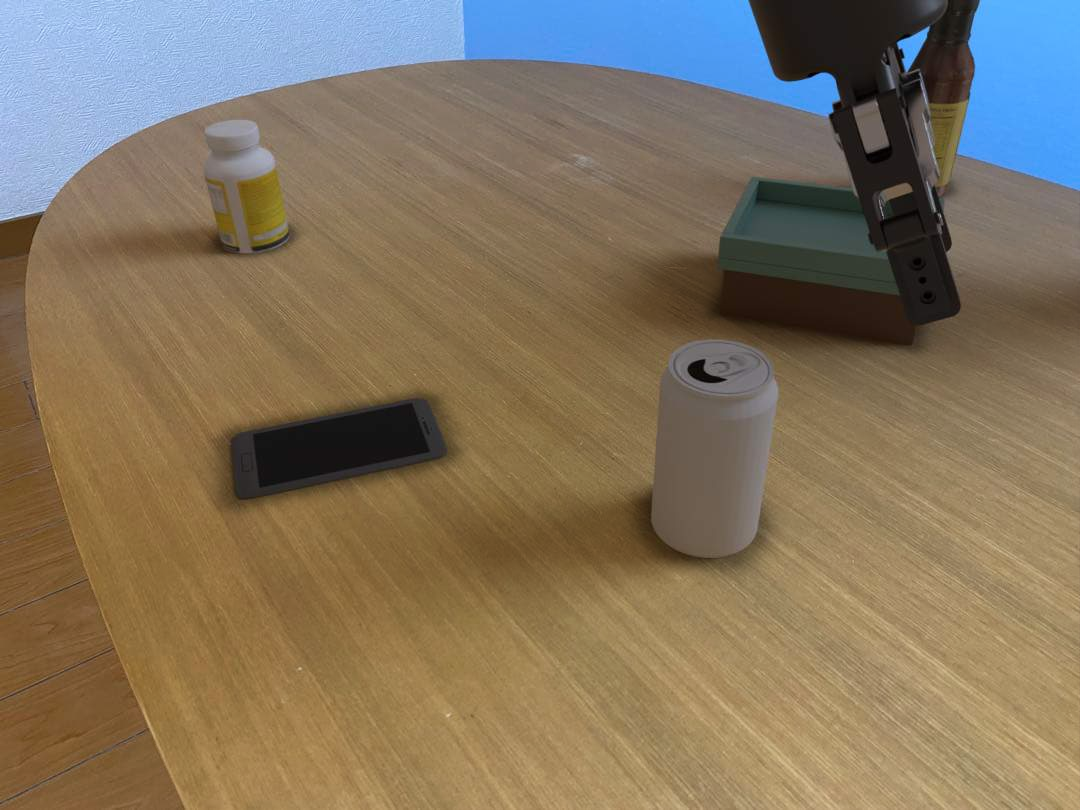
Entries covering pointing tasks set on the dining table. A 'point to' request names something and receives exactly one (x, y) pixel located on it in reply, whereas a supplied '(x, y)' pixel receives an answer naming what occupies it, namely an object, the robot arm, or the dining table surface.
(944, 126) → the sauce bottle
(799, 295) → the storage box
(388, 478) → the dining table surface
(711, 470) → the beverage can
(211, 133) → the pill bottle
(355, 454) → the cell phone
